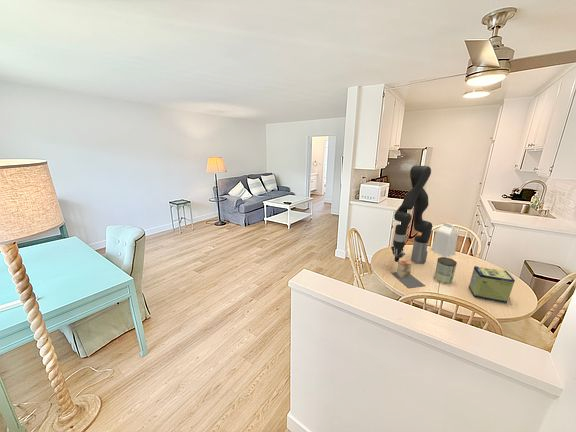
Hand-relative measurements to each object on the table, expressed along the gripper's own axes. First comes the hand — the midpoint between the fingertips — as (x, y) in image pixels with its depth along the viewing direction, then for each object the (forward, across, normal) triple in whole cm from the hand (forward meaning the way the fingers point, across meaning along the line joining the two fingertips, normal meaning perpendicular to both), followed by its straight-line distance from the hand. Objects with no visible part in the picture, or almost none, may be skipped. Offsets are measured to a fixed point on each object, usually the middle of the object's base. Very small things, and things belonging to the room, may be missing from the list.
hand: (396, 261), depth 160 cm
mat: (+6, -13, 0) cm, 14 cm away
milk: (+7, +15, -54) cm, 57 cm away
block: (+6, -8, 0) cm, 10 cm away
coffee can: (+7, -18, -23) cm, 30 cm away
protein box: (+7, -37, -35) cm, 51 cm away
